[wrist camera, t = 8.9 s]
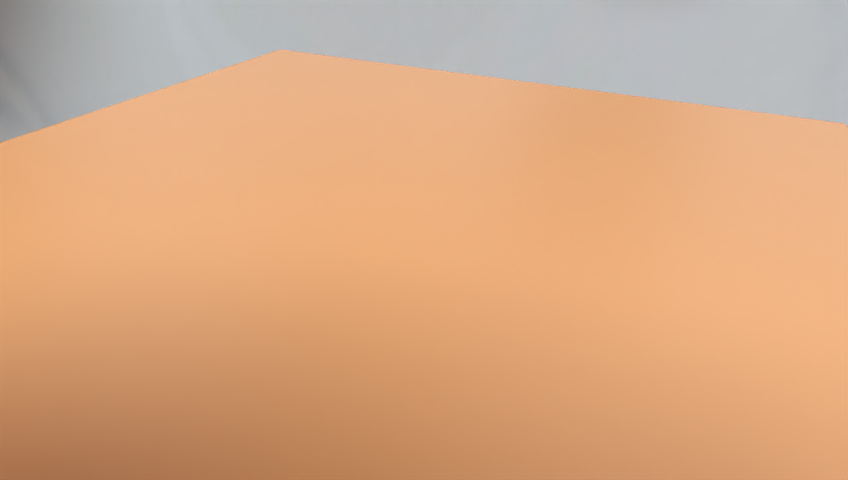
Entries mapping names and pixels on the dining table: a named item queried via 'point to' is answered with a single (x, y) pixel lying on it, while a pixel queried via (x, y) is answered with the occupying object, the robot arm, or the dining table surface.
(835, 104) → the dining table surface
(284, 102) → the tan wooden brick
